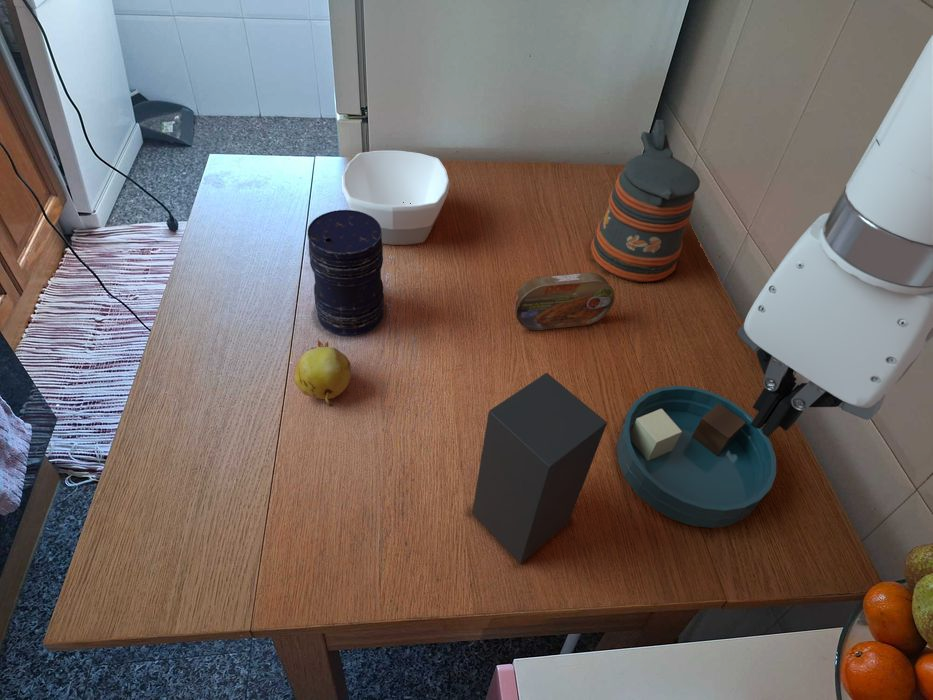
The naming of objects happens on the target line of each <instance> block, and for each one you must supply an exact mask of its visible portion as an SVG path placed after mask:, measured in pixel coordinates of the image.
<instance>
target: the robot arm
mask: <svg viewBox="0 0 933 700" xmlns="http://www.w3.org/2000/svg"><path fill="white" fill-rule="evenodd" d="M736 334H737V337H738V338H739V339H740V341H742V342H743V343H744V344H745V345H746V346H747V347H748V348H749V349H750V350H752V351H753V352H755V353H756V356H757V359H758V362H759V365H760V368H761V370H762V373H763V375H764V376H763V378H762V382H761V383H762V385H763V387H764V388H763V390H761V393H760V394H759V396H758V398H757V399H756V401H755V402H754V404H753V406H752V409H754V410H755V411H757V413H756V414H755V417H753V419H754V420H753V421H752V423H751V424H750V425H751V426H753V427H754V428H755V429H757V428H758V429H760V428H761V427H762V430H761V431H763V433H762V434H764V435H765V436H767V437H768V438H769V437H771V435H772V434H773V433H775V432H776V431H777V430H778V428H781V429H782V430H784V431H785V432H787V431H789V430H790V428H791V427H793V425H794V424H795V423H796V422H797V420H798V419H799V417H800V416H801V415H802V413H803V412H804V411H806V410H807V409H808V408H837V407H838V408H840V409H841V410H842V411H844V412H846V413H849V414H851V415H854V416H856V417H858V418H860V419H863V420H866V421H868V420H869V421H870V420H872V419H873V418H874V416H875V415H876V414H877V413H878V412H879V411H880V410H881V408H882V405H883V402H884V400H885V397H886V395H887V393H889V391H890V390H891V389H892V388H893V387H894V386H895V385H896V384H897V383H898V382H900V380H901V379H902V378H903V377H904V376H905V374H906V373H908V371H909V370H910V368H911V367H912V366H913V364H914V363H915V362H916V360H918V359H919V357H920V356H921V354H922V353H923V351H924V350H925V348H927V346H928V345H929V343H930V342H931V340H932V339H933V34H932V35H931V37H930V38H929V40H928V41H927V43H926V45H925V46H924V48H923V50H922V51H921V54H920V55H919V56H918V58H917V60H916V62H915V63H914V66H913V67H912V69H911V71H910V73H909V74H908V76H907V77H906V80H905V81H904V83H903V85H902V86H901V88H900V90H899V92H898V93H897V96H896V97H895V99H894V101H893V103H892V104H891V106H890V108H889V110H888V111H887V113H886V115H885V116H884V118H883V120H882V122H881V123H880V125H879V127H878V129H877V131H876V132H875V134H874V136H873V137H872V139H871V141H870V143H869V144H868V146H867V148H866V150H865V152H864V153H863V155H862V157H861V159H860V160H859V162H858V163H857V166H856V168H855V169H854V170H853V173H852V175H851V176H850V178H849V179H848V181H847V183H846V185H845V186H844V188H843V190H842V192H841V193H840V195H839V197H838V199H837V200H836V202H835V204H834V206H833V207H832V209H831V211H830V212H826V213H823V214H821V215H819V216H818V218H817V219H815V220H814V221H813V223H812V224H811V225H809V227H808V228H807V229H806V230H805V231H804V233H802V235H801V236H800V237H799V238H798V240H797V241H796V242H795V243H794V244H793V246H792V247H791V248H790V250H789V251H788V252H787V253H786V255H785V256H784V257H783V259H782V260H781V262H780V263H779V265H778V266H777V267H776V269H775V270H774V272H773V273H772V275H771V276H770V278H769V279H768V280H767V282H766V284H765V285H764V286H763V288H762V289H761V290H760V293H759V294H758V296H757V297H756V299H755V301H754V302H753V303H752V305H751V307H750V309H749V310H748V313H747V315H746V317H745V319H744V321H743V324H742V325H741V326H740V327H739V328H738V329H737V331H736ZM795 373H798V374H800V375H801V376H803V377H804V378H806V379H807V380H809V381H808V382H801V383H800V384H797V382H796V381H797V380H798V379H797V378H796V376H795Z"/></svg>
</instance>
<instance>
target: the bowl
mask: <svg viewBox="0 0 933 700" xmlns="http://www.w3.org/2000/svg"><path fill="white" fill-rule="evenodd" d="M340 178H341V192H342V193H343V195H344V198H345V200H346V202H347V204H348V206H349V208H350V209H349V210H354V211H359V212H363V213H365V214H368V215H370V216H372V217H373V218H375V219H376V220H377V221H378V223H379V224H380V226H381V230H382V237H381V238H382V244H384V245H385V244H386V245H392V246H398V245H399V246H401V245H405V246H406V245H414V244H422V243H424V242H426V241H427V238H428V237H429V235H430V233H431V231H432V229H433V226H434V225H435V222H436V220H437V218H438V217H439V214H440V212H441V210H442V207H443V205H444V203H445V201H446V199H447V197H448V193H449V190H450V187H451V182H450V178H449V175H448V171H447V169H446V167H445V166H444V164H443V163H442V161H441V160H440V158H439V157H435V156H432V155H427V154H424V153H421V152H414V151H408V150H407V151H406V150H405V151H404V150H371V151H365V152H359V153H357V154H356V155H355V156H354V157H353V158H352V159H351V160H350V161H349V162H348V163H347V165H346V166H345V169H344V170H343V172H342V175H341V177H340ZM403 202H404V203H403ZM410 203H411V204H410Z"/></svg>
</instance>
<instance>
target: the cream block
mask: <svg viewBox="0 0 933 700" xmlns="http://www.w3.org/2000/svg"><path fill="white" fill-rule="evenodd" d="M681 433H682V431H681V430H680V429H679V428H678V426H677V425H676V424H675V423H674V422H673V421H672V420H671V418H670V417H669V416H668V415H667V414H666V413H665V412H664V410H663V409H659V410H657V411H654V412H652V413H649V414H647V415H644V416H642V417H639V418H637V419H636V422H635V424H634V426H633V428H632V431H631V433H630V440H631V441H632V442H633V443H634V445H635V446H636V447H637V448H638V450H639V451H640V452H641V453H642V455H643V456H644V457H645V458H646V460H647V461H649V460H651V459H653V458H656V457H658V456H660V455H663V454H665V453H667V452H670V451H672V450H673V448H674V446H675V444H676V442H677V440H678V439H679V437H680V435H681Z"/></svg>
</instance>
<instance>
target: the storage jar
mask: <svg viewBox="0 0 933 700" xmlns="http://www.w3.org/2000/svg"><path fill="white" fill-rule="evenodd" d="M381 237H382V230H381V226H380V224H379V223H378V221H377V220H376V219H375V218H373V217H372V216H370V215H368V214H365V213H363V212H359V211H354V210H351V209H337V210H332V211H328V212H325V213H323V214H321V215H319V216H317V217H315V218H314V219H313V220H312V221H311V222H310V223H309V225H308V227H307V240H308V256H309V264H310V268H311V271H312V272H313V275H314V276H313V277H314V285H313V297H314V305H315V308H316V311H317V320H318V323H319V325H320V326H321V327H322V328H323V329H324V330H325V331H327V332H329V333H331V334H333V335H335V336H339V337H345V338H346V337H347V338H351V337H353V338H354V337H359V336H363V335H366V334H369V333H370V332H372V331H374V330H375V329H377V328H378V326H380V324H381V323H382V321H383V319H384V304H385V293H384V283H383V280H382V268H383V263H384V254H383V253H384V245H383V243H382V238H381Z"/></svg>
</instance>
